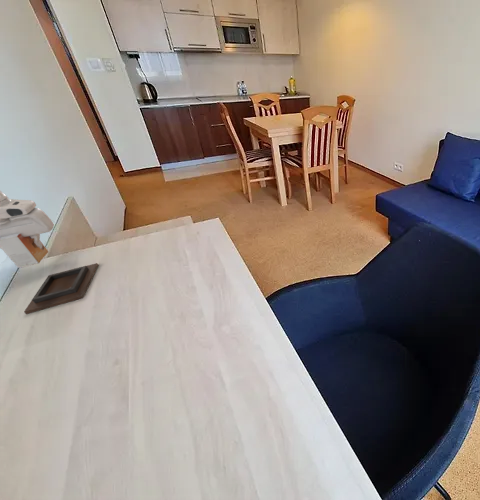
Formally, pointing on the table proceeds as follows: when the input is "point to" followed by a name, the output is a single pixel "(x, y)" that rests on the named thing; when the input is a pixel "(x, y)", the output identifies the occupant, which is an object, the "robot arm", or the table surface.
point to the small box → (22, 250)
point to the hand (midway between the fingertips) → (26, 249)
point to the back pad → (62, 288)
